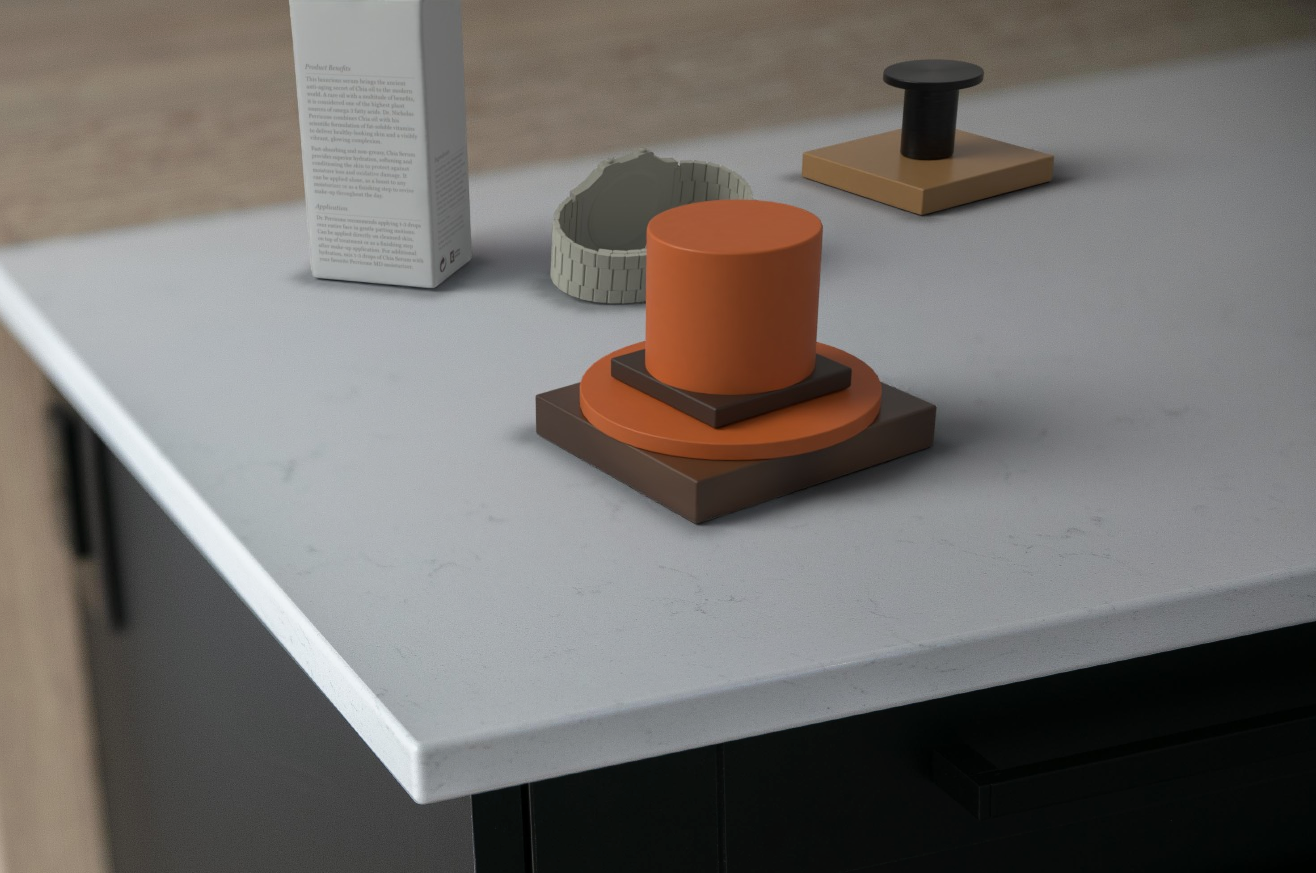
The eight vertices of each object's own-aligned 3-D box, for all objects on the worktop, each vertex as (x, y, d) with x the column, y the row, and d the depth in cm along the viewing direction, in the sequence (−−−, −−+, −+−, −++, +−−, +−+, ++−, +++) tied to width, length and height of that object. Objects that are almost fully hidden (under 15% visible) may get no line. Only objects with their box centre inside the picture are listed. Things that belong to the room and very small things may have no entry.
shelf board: (759, 367, 72) (761, 329, 72) (934, 446, 65) (938, 405, 65) (534, 434, 68) (534, 394, 68) (695, 525, 61) (697, 482, 61)
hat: (749, 326, 72) (755, 162, 69) (945, 410, 64) (962, 229, 61) (522, 390, 68) (519, 219, 65) (703, 488, 60) (708, 299, 57)
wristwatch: (697, 237, 86) (700, 124, 83) (788, 275, 81) (794, 156, 78) (519, 279, 82) (517, 162, 80) (602, 322, 77) (603, 198, 75)
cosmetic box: (474, 260, 85) (465, -25, 79) (434, 292, 82) (422, -3, 76) (350, 248, 88) (332, -29, 82) (306, 279, 84) (284, -8, 78)
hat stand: (927, 145, 96) (936, 42, 93) (1052, 181, 90) (1065, 71, 87) (800, 177, 93) (806, 70, 90) (921, 216, 86) (930, 102, 84)
